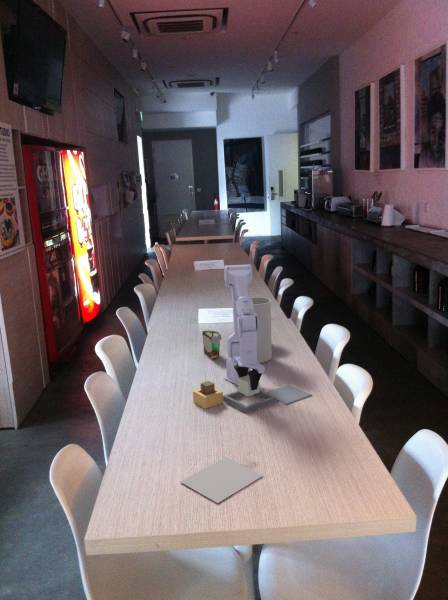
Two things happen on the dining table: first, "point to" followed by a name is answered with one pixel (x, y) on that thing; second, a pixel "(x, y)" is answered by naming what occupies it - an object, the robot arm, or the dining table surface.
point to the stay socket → (208, 398)
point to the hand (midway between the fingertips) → (249, 387)
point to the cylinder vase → (263, 328)
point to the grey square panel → (221, 479)
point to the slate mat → (288, 394)
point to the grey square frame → (268, 401)
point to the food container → (211, 344)
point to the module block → (246, 386)
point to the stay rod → (207, 388)
